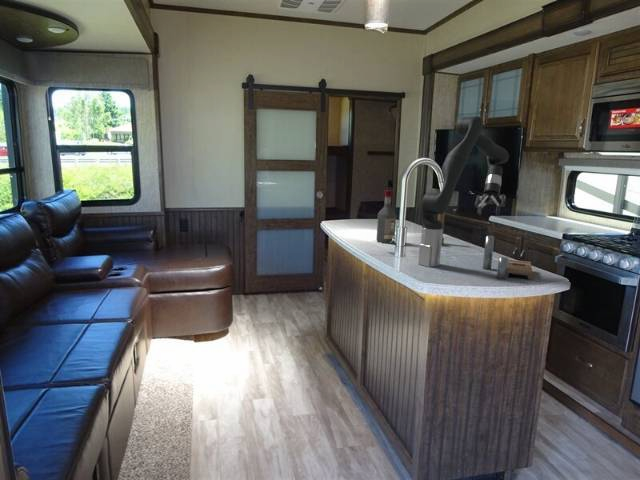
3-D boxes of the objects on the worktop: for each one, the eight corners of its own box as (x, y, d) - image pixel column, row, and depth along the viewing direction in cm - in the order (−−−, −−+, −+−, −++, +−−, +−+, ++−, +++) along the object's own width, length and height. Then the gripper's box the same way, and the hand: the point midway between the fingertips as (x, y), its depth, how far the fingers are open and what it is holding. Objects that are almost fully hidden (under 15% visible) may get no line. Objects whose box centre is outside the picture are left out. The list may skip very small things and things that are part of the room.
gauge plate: (531, 280, 187) (532, 270, 186) (505, 276, 191) (506, 267, 190) (529, 270, 203) (530, 261, 202) (505, 267, 207) (506, 259, 206)
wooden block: (424, 243, 259) (426, 212, 256) (439, 242, 263) (442, 212, 260) (428, 244, 256) (430, 213, 253) (443, 244, 260) (446, 213, 257)
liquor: (374, 241, 261) (377, 190, 255) (384, 239, 267) (387, 189, 261) (386, 244, 254) (389, 191, 249) (396, 242, 260) (399, 190, 255)
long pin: (488, 270, 201) (491, 237, 198) (481, 268, 204) (484, 236, 201) (492, 269, 203) (495, 236, 201) (485, 267, 206) (488, 235, 203)
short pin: (503, 280, 185) (505, 259, 183) (495, 278, 188) (497, 257, 186) (507, 279, 187) (509, 258, 186) (499, 277, 190) (501, 256, 188)
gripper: (476, 182, 229) (471, 211, 224) (505, 181, 220) (500, 210, 215) (481, 189, 234) (476, 217, 230) (509, 188, 225) (505, 217, 221)
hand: (488, 214), depth 223 cm, fingers open, 8 cm apart
